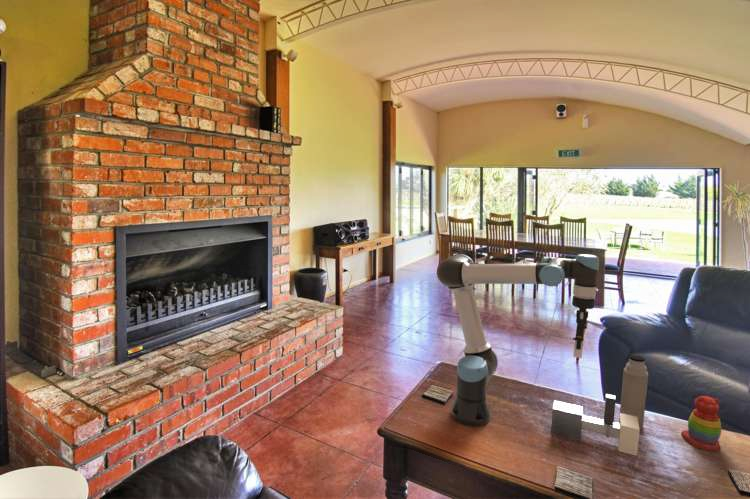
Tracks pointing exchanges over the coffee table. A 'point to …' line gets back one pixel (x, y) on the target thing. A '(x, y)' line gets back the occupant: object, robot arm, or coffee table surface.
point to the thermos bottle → (634, 388)
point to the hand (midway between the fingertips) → (578, 350)
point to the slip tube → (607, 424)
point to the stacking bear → (704, 424)
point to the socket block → (628, 434)
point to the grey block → (567, 419)
